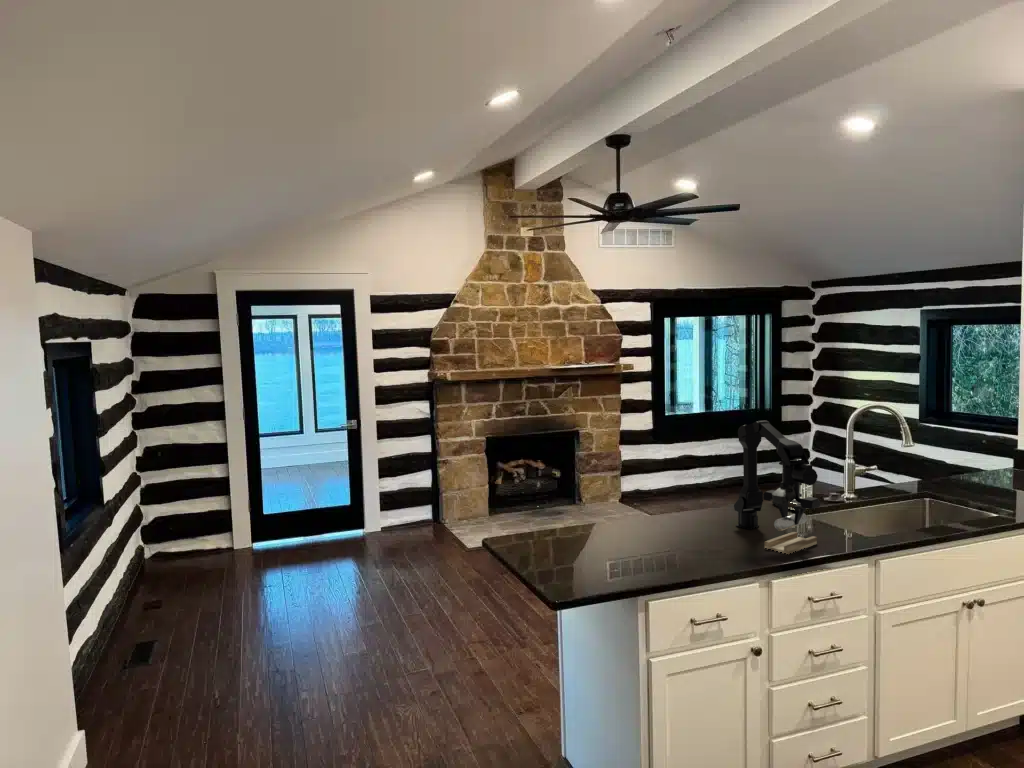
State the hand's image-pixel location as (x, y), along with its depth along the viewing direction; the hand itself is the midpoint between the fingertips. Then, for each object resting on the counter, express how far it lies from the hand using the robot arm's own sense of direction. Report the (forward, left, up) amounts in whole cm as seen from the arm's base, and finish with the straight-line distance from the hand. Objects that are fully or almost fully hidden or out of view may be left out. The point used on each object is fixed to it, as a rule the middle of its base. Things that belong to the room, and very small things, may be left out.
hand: (790, 523), depth 256 cm
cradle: (0, 0, -8) cm, 8 cm away
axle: (0, 0, -1) cm, 1 cm away
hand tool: (-30, +44, -9) cm, 54 cm away
